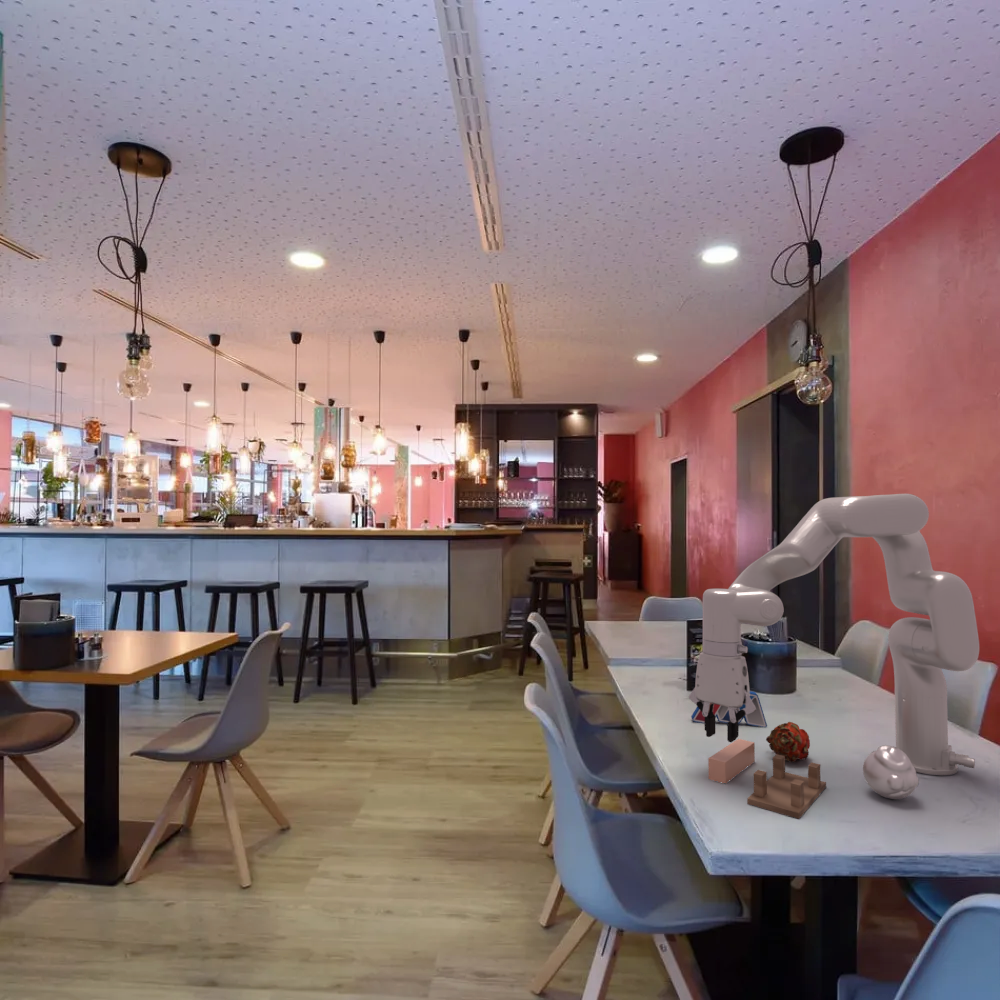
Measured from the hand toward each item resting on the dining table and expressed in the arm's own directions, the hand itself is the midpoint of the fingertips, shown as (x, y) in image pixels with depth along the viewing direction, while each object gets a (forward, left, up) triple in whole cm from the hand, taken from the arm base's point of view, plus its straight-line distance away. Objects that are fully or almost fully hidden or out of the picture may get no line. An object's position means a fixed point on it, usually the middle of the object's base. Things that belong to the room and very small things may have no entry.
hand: (721, 736), depth 129 cm
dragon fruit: (-7, -20, -8) cm, 23 cm away
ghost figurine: (-28, -11, -8) cm, 31 cm away
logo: (+12, -35, -8) cm, 38 cm away
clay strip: (-1, -5, -8) cm, 9 cm away
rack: (-13, +1, -8) cm, 15 cm away
